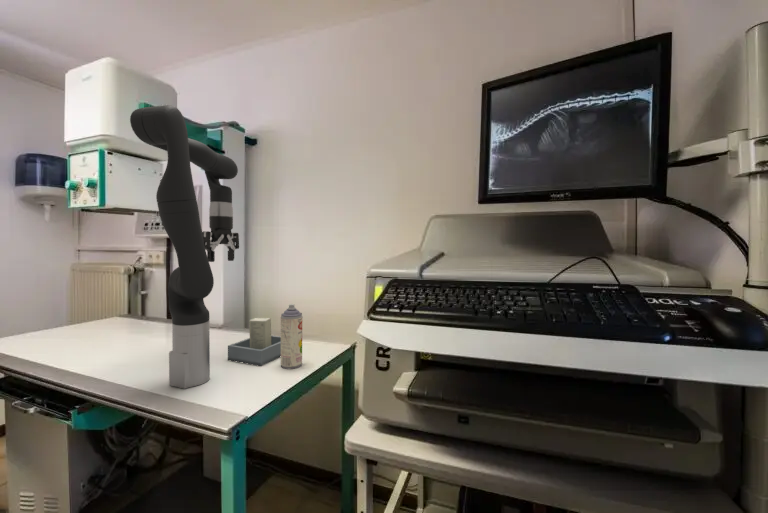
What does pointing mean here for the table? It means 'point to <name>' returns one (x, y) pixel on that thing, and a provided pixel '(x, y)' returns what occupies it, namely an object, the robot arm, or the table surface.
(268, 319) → the skincare box
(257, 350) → the tote
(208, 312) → the robot arm
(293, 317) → the aerosol can
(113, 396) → the table surface
